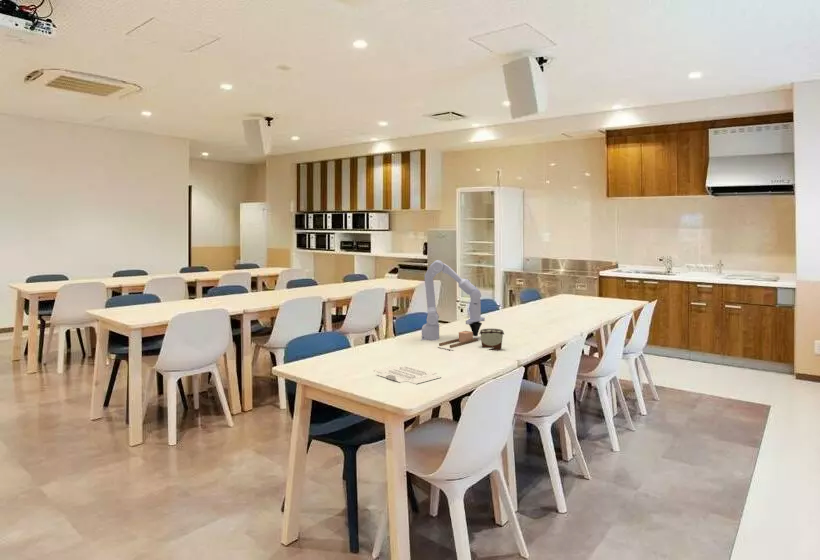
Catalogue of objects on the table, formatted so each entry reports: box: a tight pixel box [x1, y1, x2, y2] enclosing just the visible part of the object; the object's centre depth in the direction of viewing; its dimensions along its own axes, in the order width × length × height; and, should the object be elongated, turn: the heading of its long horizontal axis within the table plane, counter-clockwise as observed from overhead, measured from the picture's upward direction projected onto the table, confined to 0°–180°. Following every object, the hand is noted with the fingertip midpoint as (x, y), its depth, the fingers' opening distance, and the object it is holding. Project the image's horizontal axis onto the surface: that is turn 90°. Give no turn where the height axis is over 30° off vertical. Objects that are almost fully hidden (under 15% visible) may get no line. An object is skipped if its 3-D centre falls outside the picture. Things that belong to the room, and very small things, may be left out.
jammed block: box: [458, 330, 474, 343], centre depth 283 cm, size 5×6×5 cm
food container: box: [478, 328, 505, 351], centre depth 270 cm, size 12×6×10 cm, turn 84°
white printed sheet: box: [373, 364, 442, 385], centre depth 225 cm, size 20×28×4 cm
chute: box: [437, 337, 479, 352], centre depth 279 cm, size 10×22×2 cm, turn 137°
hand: (475, 335), depth 289 cm, fingers closed
